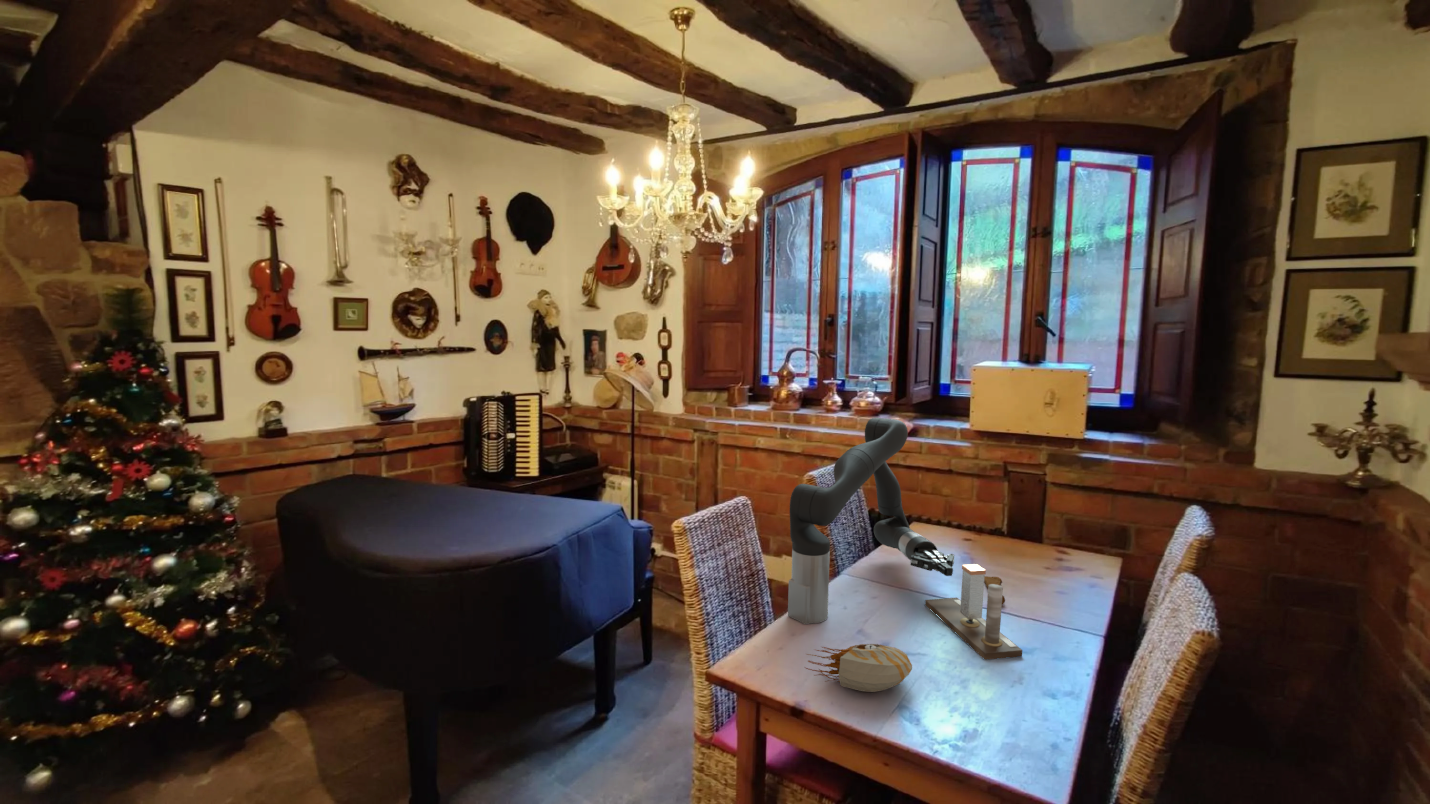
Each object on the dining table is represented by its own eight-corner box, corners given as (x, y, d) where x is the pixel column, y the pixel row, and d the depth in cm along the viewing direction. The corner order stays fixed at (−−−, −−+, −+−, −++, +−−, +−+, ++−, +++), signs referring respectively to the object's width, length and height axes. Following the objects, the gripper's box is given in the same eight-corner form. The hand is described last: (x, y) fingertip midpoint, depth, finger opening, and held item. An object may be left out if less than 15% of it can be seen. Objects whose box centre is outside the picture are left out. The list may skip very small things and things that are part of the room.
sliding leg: (982, 624, 152) (985, 570, 150) (967, 625, 151) (971, 571, 150) (973, 616, 156) (976, 564, 154) (958, 617, 155) (962, 565, 153)
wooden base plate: (1021, 656, 142) (1026, 594, 140) (984, 659, 140) (988, 596, 138) (956, 602, 168) (960, 549, 166) (924, 605, 166) (927, 551, 165)
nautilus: (796, 690, 129) (815, 658, 143) (907, 710, 121) (915, 673, 134) (796, 652, 129) (814, 623, 142) (906, 669, 120) (914, 637, 134)
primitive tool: (980, 577, 186) (981, 565, 185) (1000, 579, 184) (1001, 568, 184) (989, 606, 167) (990, 593, 167) (1012, 609, 166) (1013, 596, 165)
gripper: (895, 536, 178) (926, 559, 161) (939, 534, 180) (974, 557, 163) (894, 562, 178) (924, 587, 161) (938, 560, 181) (972, 585, 164)
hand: (949, 572), depth 162 cm, fingers closed
